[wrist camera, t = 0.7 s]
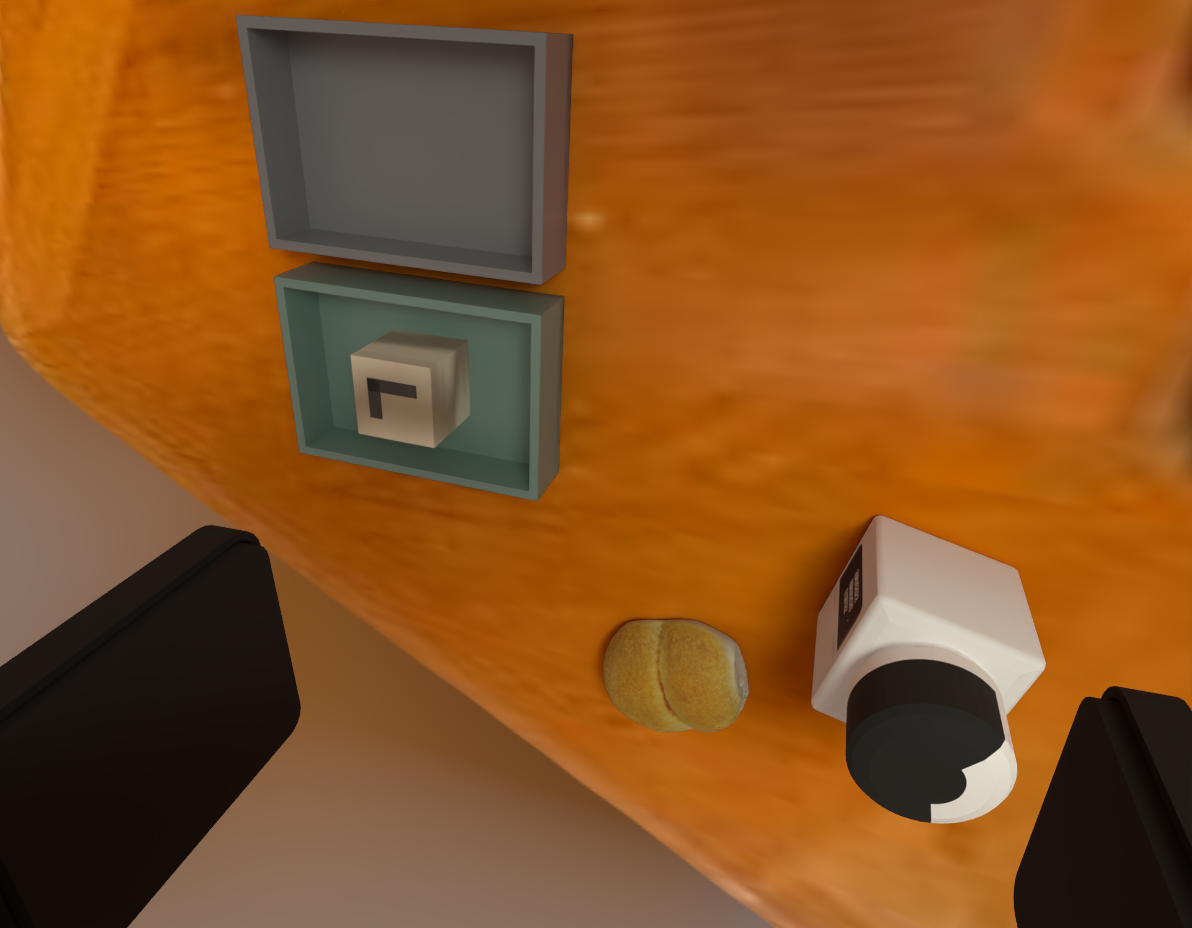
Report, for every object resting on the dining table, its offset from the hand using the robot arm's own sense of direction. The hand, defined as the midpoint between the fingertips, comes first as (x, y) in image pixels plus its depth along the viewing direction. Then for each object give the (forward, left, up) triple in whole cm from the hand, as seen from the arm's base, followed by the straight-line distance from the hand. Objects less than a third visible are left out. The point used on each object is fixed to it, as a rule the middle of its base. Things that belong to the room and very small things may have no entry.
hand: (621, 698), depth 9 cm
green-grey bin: (+10, -19, -32) cm, 38 cm away
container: (+19, +9, -32) cm, 38 cm away
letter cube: (+10, -19, -31) cm, 38 cm away
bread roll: (+28, -3, -32) cm, 42 cm away
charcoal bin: (-2, -19, -32) cm, 37 cm away
